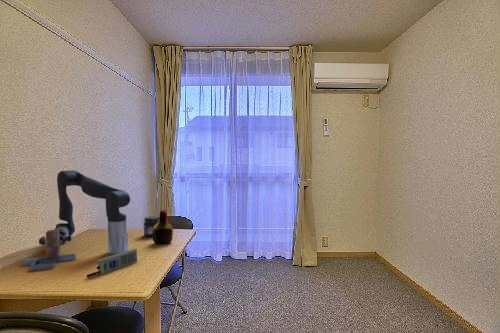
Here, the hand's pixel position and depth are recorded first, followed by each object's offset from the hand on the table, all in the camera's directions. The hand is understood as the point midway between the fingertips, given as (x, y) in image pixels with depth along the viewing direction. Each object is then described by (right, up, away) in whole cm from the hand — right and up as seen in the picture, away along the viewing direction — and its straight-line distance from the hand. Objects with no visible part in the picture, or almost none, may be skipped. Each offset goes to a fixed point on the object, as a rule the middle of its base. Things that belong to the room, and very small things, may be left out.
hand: (53, 242), depth 154 cm
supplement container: (+35, -7, +46) cm, 59 cm away
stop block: (0, -8, 0) cm, 8 cm away
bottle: (+48, -8, +28) cm, 56 cm away
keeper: (+4, -8, -10) cm, 14 cm away
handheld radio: (+38, -9, -15) cm, 42 cm away
